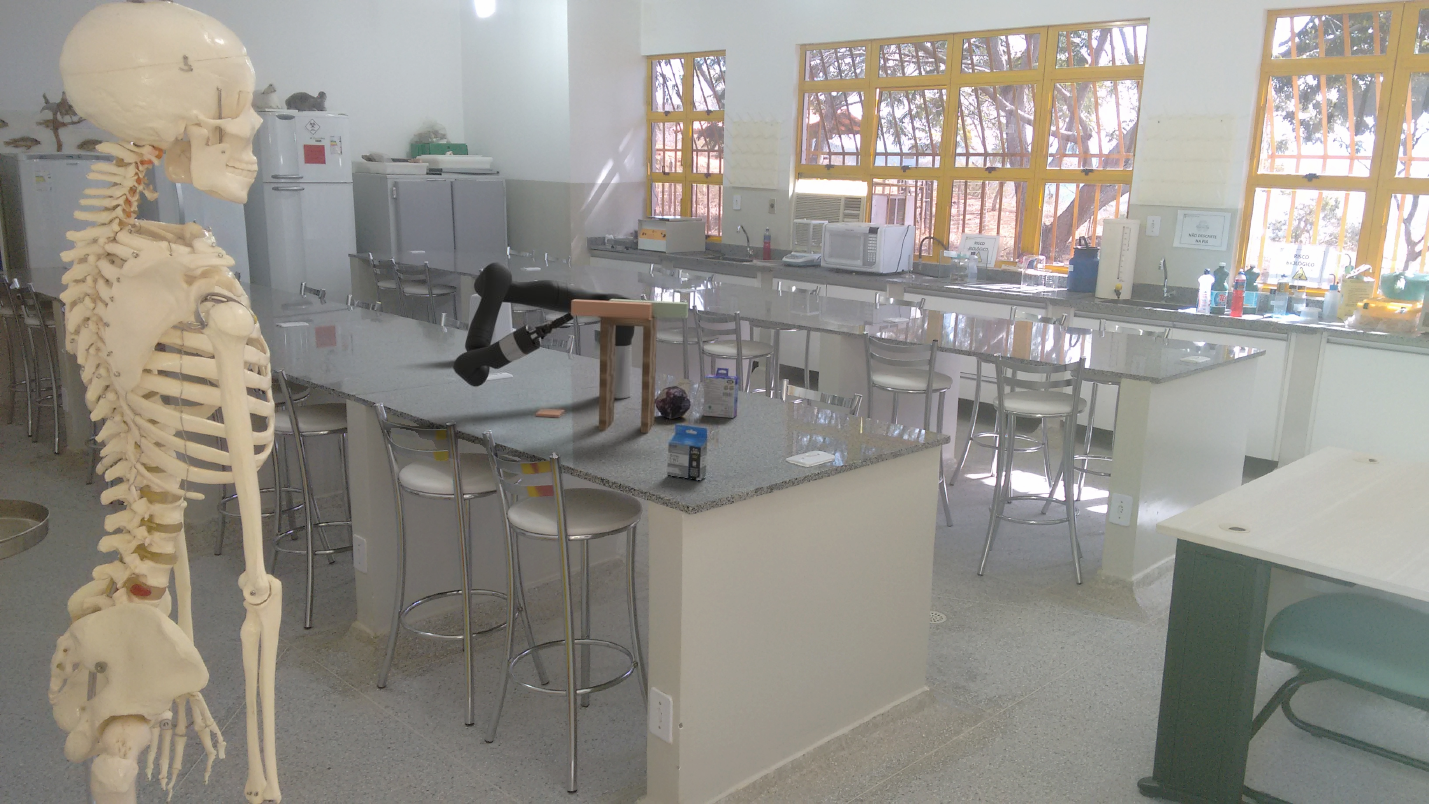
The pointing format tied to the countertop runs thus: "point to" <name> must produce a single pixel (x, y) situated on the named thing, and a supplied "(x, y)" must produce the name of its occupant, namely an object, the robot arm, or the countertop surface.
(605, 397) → the wooden stand
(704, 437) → the label tape box
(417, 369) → the countertop surface
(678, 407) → the mineral specimen
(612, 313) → the terracotta rod
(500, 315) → the plastic bottle
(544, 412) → the tile
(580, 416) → the countertop surface
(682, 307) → the sage rod
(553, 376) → the countertop surface
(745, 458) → the countertop surface
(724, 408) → the ink cartridge box
